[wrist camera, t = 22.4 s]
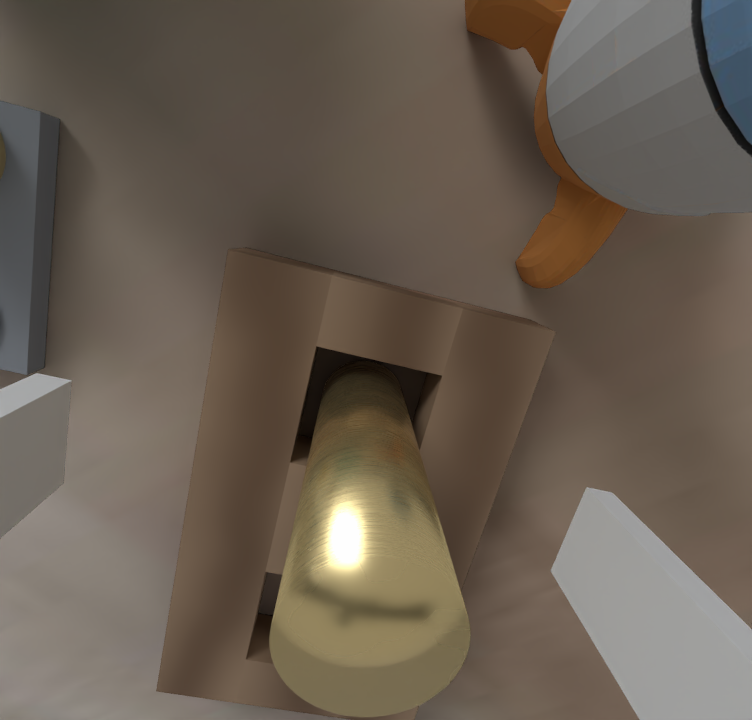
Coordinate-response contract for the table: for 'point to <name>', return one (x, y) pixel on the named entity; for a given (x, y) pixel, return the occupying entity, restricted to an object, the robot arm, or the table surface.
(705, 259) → the table surface
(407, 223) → the table surface
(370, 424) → the peg
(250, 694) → the board
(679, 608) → the robot arm
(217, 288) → the table surface
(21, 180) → the grey base with knobs
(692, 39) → the toy rocket
